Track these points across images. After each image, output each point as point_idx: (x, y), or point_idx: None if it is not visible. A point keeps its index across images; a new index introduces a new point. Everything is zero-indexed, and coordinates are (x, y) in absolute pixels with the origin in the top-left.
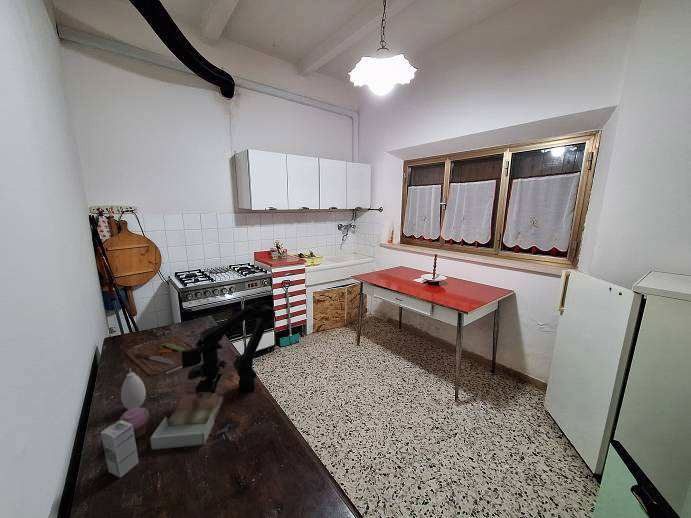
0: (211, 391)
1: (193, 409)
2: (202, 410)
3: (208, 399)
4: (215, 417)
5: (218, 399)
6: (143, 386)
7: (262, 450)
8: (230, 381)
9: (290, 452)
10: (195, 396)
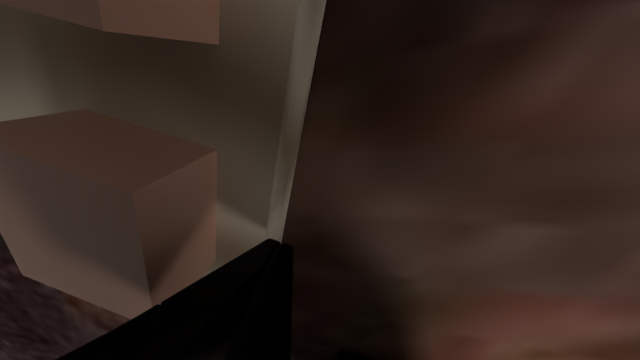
0: (226, 274)
1: (66, 23)
2: None
3: (35, 239)
4: None
5: (215, 265)
6: None
7: (13, 316)
8: (575, 344)
9: (29, 357)
10: (40, 13)
